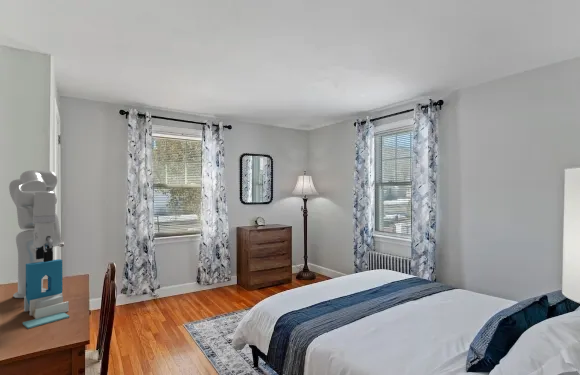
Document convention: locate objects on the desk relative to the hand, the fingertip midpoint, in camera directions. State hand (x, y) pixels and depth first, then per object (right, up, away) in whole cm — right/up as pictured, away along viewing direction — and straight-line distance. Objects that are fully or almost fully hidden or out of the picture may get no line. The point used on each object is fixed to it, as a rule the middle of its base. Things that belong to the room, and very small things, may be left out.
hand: (44, 259), depth 133 cm
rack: (+2, -21, -2) cm, 21 cm away
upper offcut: (+6, -18, -4) cm, 19 cm away
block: (0, -21, 0) cm, 21 cm away
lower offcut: (+6, -22, -5) cm, 23 cm away
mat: (+10, -21, -12) cm, 26 cm away
